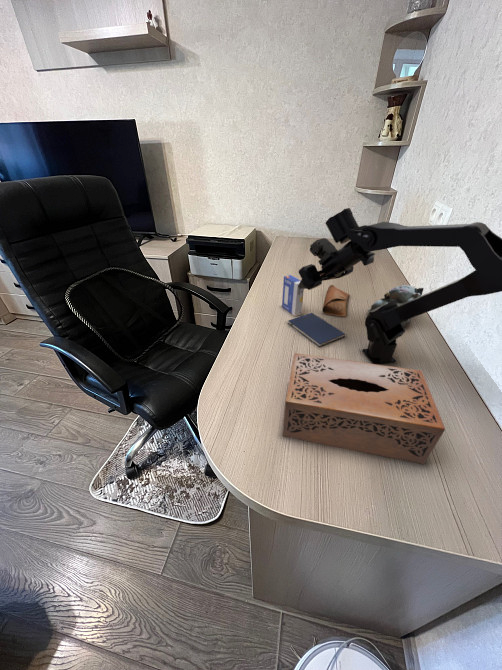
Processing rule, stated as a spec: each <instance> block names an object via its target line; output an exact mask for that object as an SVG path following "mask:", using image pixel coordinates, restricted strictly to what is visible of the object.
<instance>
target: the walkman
mask: <svg viewBox="0 0 502 670" xmlns="http://www.w3.org/2000/svg"><path fill="white" fill-rule="evenodd" d="M300 281H301V280H300V279H299V278H297V277H295V276H294V275H292V274H287V275H284V276H283V282H282V286H283V287H282V300H281V301H282V302H281V307H282V308H283V309H284V310H285V311H287V312H288V313H289V314H291V315H293V316H294V317H298V316H302V312H303V303H304V291H305V289H299V287H298V285H299V283H300Z"/></svg>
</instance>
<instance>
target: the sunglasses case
mask: <svg viewBox="0 0 502 670" xmlns="http://www.w3.org/2000/svg"><path fill="white" fill-rule="evenodd" d="M349 297H350V293H347V292H345V291H343V290H342V289H340V288H338V287H336V286H335V285H334V284H331V285H329V286H328V288H327V291H326V293H325V297H324V301H323V305H322V312H323V314H325V315H328V316H334V317H347V307H348V301H349Z"/></svg>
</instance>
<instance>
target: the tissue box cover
mask: <svg viewBox="0 0 502 670" xmlns="http://www.w3.org/2000/svg"><path fill="white" fill-rule="evenodd" d="M445 430H446V427H445V425H444V422H443V420H442V417H441V415H440V413H439V410H438V407H437V405H436V402H435V400H434V397H433V394H432V393H431V389H430V388H429V385H428V382H427V380H426V377H425V375H424V372H423V370H420V369H411V368H405V367H399V366H391V365H385V364H381V365H377V364H373V363H371V362H370V363H369V362H362V361H354V360H347V359H340V358H334V357H333V358H332V357H326V356H319V355H311V354H304V353H298V352H297V353H296V352H294V353H293V357H292V365H291V370H290V376H289V381H288V387H287V392H286V398H285V405H284V416H283V425H282V437H285V438H286V437H287V438H290V439H296V440H302V441H306V442H311V443H315V444H322V445H325V446H330V447H335V448H339V449H346V450H349V451H350V450H351V451H356V452H360V453H366V454H369V455H370V454H371V455H375V456H381V457H387V458H390V459H397V460H401V461H406V462H410V463H414V464H415V463H416V464H420V465H425V463H426V462H427V460H428V459H429V456H430V455H431V453H432V452H433V451H434V449H435V447H436V445H437V444H438V442H439V440H440V439H441V437H442V436H443V434H444V432H445Z"/></svg>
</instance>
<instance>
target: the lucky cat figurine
mask: <svg viewBox="0 0 502 670" xmlns="http://www.w3.org/2000/svg"><path fill="white" fill-rule="evenodd" d="M424 290H425V289H424V287H418V288H417V287H415V286H413V285H410V284H402V285H399V286H395V287H393V288H391V289H389V292H385V293H384V295H383V298H381V299H380V300H379V299H378V300H376V301H375V302H373V303H372V304H371V305H370V309H366V312H368V313H369V312H370V311H372V310H374V309H376V308H378V307H379V306H381V305H383V304H387V303H389V302H391V301H393V300H394V299H395V300H396V303H397V304H403V303H406V302H408V301H410V300H413V299H415V298H417V297H420V296H422V295H423V292H424ZM411 321H412V318H410V319H407V320H405V321H403V322H401V324H402V326H403V327H404V328H405V327H408V325H409V324H410V323H411Z"/></svg>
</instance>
